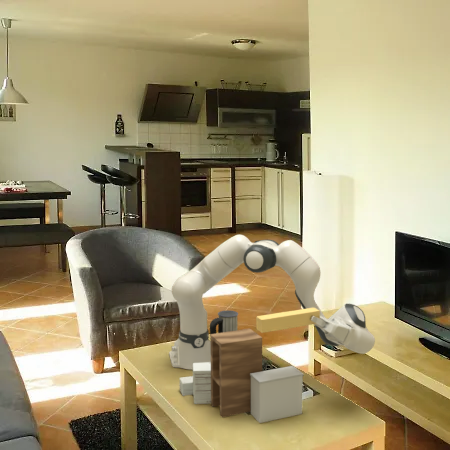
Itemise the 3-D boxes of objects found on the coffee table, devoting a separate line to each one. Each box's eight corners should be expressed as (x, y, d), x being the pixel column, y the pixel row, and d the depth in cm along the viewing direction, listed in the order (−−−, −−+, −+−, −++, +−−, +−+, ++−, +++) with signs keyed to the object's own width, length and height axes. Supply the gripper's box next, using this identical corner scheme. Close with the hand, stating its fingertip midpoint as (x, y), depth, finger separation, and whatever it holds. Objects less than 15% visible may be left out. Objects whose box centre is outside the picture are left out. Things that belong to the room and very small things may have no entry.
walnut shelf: (211, 404, 209) (210, 334, 204) (249, 397, 214) (249, 328, 210) (222, 417, 200) (221, 344, 195) (261, 409, 205) (262, 337, 201)
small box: (197, 394, 217) (197, 381, 216) (182, 396, 215) (182, 383, 215) (194, 387, 222) (193, 375, 222) (179, 389, 221) (178, 377, 220)
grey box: (249, 413, 202) (249, 373, 200) (292, 404, 208) (292, 365, 206) (259, 423, 195) (259, 382, 193) (302, 413, 202) (303, 373, 199)
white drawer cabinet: (193, 395, 216) (192, 362, 214) (213, 394, 217) (213, 361, 214) (193, 404, 209) (192, 370, 207) (214, 403, 209) (213, 370, 207)
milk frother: (225, 339, 271) (225, 308, 269) (254, 347, 262) (254, 315, 260) (206, 349, 260) (206, 317, 257) (236, 357, 251) (236, 324, 248)
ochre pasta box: (256, 329, 197) (256, 316, 196) (313, 319, 205) (313, 307, 204) (261, 332, 193) (261, 319, 192) (319, 323, 201) (319, 310, 201)
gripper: (324, 313, 217) (296, 299, 211) (357, 330, 198) (327, 315, 192) (317, 328, 216) (288, 315, 211) (349, 347, 198) (318, 333, 192)
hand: (307, 315), depth 201 cm, fingers closed on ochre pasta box, 4 cm apart
